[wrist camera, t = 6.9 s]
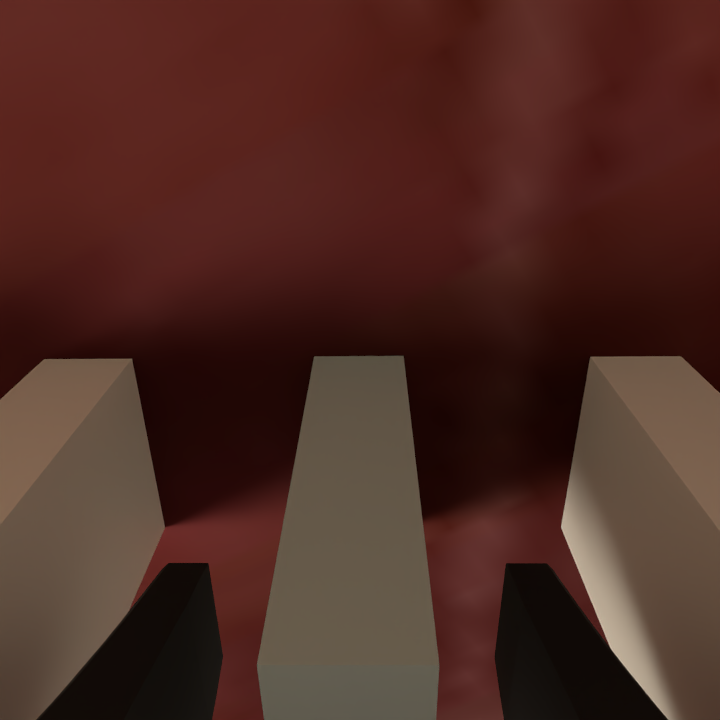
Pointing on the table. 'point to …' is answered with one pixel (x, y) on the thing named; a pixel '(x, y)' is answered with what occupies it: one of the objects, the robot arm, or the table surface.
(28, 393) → the domino
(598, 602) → the domino
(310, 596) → the domino
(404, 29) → the table surface
